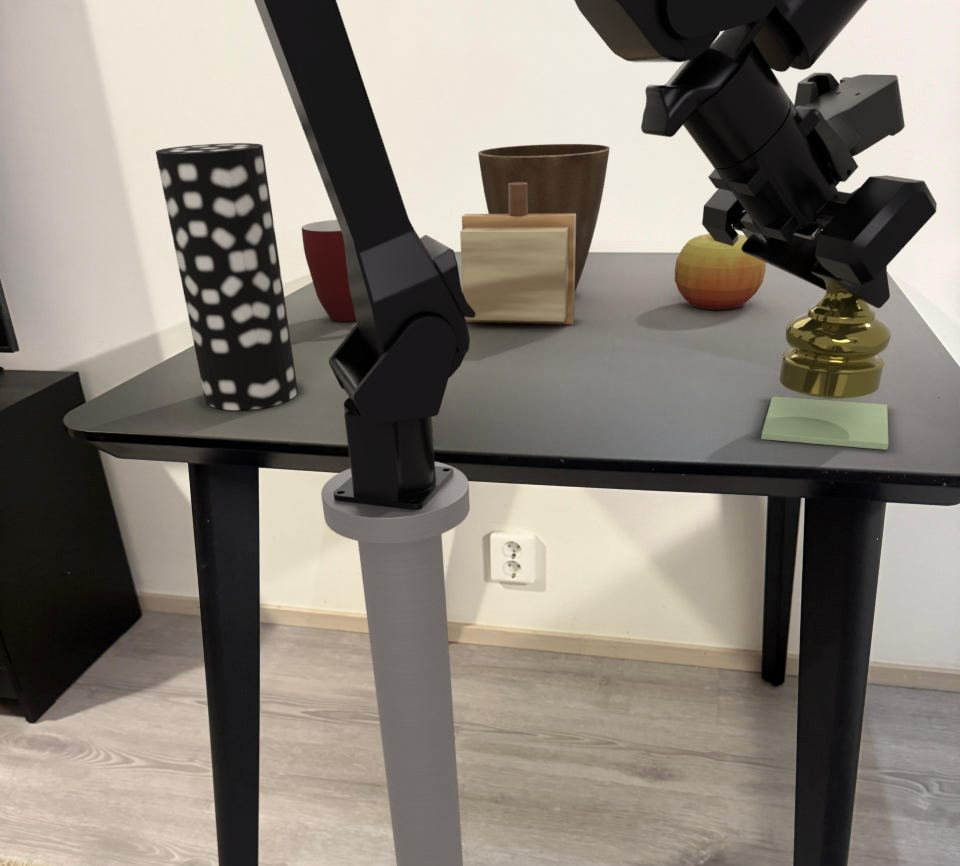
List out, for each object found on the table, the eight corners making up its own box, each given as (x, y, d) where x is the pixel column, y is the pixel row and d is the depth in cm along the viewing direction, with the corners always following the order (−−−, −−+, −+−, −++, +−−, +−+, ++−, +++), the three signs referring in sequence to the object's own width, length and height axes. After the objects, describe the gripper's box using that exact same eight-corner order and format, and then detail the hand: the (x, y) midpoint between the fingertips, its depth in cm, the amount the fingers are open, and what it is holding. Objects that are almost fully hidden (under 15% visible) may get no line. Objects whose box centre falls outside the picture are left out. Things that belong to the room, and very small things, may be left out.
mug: (412, 312, 109) (406, 220, 103) (385, 329, 102) (376, 232, 97) (332, 308, 112) (321, 218, 106) (300, 325, 105) (287, 230, 100)
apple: (719, 320, 100) (727, 241, 96) (654, 305, 107) (659, 231, 103) (777, 305, 105) (788, 229, 101) (712, 291, 112) (719, 220, 108)
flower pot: (457, 297, 114) (451, 152, 105) (543, 277, 122) (543, 140, 113) (543, 317, 104) (543, 158, 96) (629, 293, 113) (637, 145, 104)
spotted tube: (188, 408, 82) (134, 154, 71) (231, 379, 88) (188, 144, 78) (274, 412, 80) (233, 152, 69) (311, 383, 87) (279, 142, 76)
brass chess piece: (827, 368, 75) (852, 235, 70) (901, 391, 69) (933, 249, 64) (757, 380, 72) (777, 243, 67) (827, 406, 67) (855, 258, 61)
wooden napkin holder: (568, 331, 99) (570, 187, 91) (459, 329, 101) (453, 188, 94) (574, 320, 103) (577, 181, 95) (469, 318, 105) (464, 182, 97)
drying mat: (887, 450, 68) (888, 443, 68) (761, 439, 70) (761, 433, 70) (886, 410, 75) (887, 404, 75) (771, 402, 78) (772, 396, 77)
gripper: (950, 17, 50) (1049, 223, 59) (758, 28, 65) (859, 190, 74) (801, 188, 52) (918, 362, 61) (649, 160, 67) (760, 302, 76)
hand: (861, 295), depth 68 cm, fingers closed on brass chess piece, 5 cm apart
